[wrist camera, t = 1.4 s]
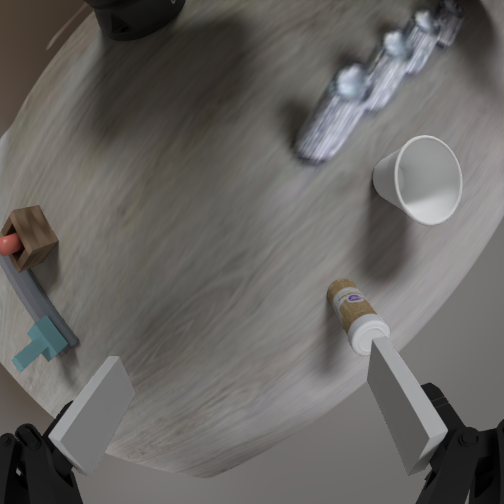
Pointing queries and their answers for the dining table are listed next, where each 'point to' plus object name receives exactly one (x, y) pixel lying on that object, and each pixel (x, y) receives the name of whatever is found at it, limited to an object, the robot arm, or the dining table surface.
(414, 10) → the dining table surface
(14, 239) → the cylinder
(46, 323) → the carriage
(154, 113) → the dining table surface
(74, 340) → the rail bed
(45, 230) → the open wooden box
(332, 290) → the sprinkles bottle
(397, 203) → the cup
